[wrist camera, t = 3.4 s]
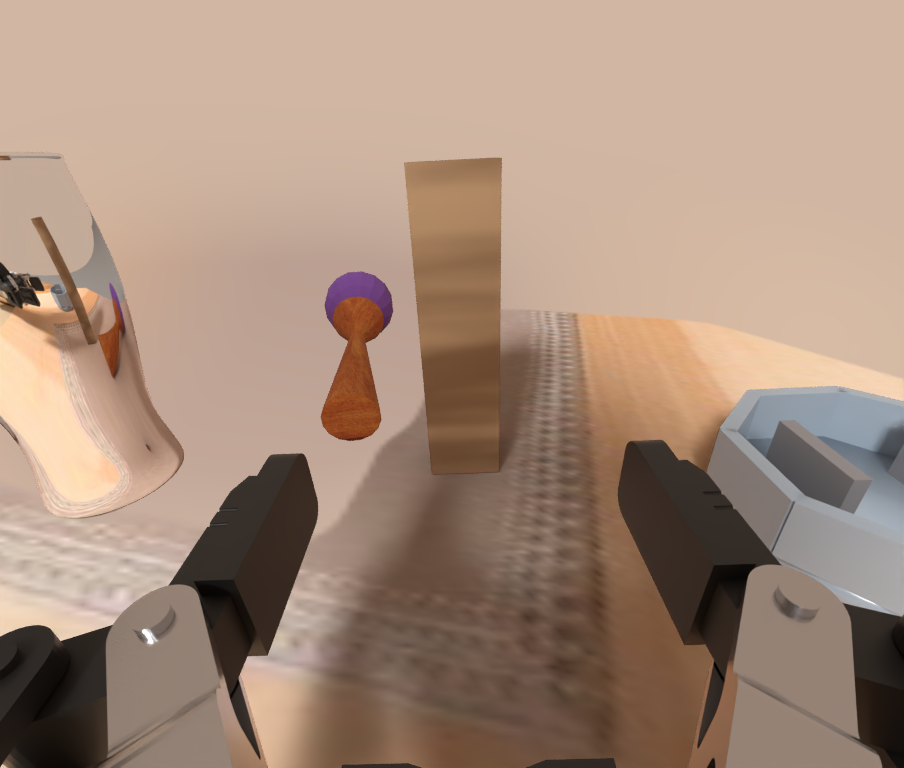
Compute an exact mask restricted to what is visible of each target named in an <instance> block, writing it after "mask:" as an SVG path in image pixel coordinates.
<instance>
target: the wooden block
mask: <svg viewBox="0 0 904 768" xmlns="http://www.w3.org/2000/svg"><path fill="white" fill-rule="evenodd" d="M501 161H502V158H480V159H462V160H444V161H443V160H442V161H424V162H408V163H404V165H405V176H406V188H407V199H408V211H409V222H410V233H411V245H412V256H413V266H414V279H415V290H416V301H417V313H418V324H419V334H420V346H421V358H422V369H423V380H424V392H425V403H426V414H427V425H428V437H429V448H430V459H431V471H432V474H458V473H484V472H499V408H500V288H501V287H500V286H501V285H500V284H501V170H502V169H501V168H502V166H501V165H502V162H501Z"/></svg>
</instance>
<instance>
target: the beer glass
mask: <svg viewBox="0 0 904 768" xmlns="http://www.w3.org/2000/svg"><path fill="white" fill-rule="evenodd" d="M0 424H1V425H2V426H3V427H4V428H5V429H7V431H8V432H9V433H10V435H11V436H12V437H13V438H14V440H15V441H16V442H17V444H19V446H20V448H21V449H22V451H23V453H24V455H25V456H26V458H27V460H28V462H29V464H30V467H31V469H32V471H33V474H34V477H35V480H36V484H37V486H38V490H39V493H40V496H41V499H42V501H43V503H44V505H45V507H46V509H47V510H48V511H50V512H51V513H52V514H54V515H56V516H60V517H66V518H82V517H90V516H95V515H99V514H103V513H107V512H110V511H113V510H116V509H119V508H122V507H124V506H127V505H129V504H131V503H133V502H136V501H138V500H140V499H142V498H143V497H145V496H147V495H149V494H150V493H152V492H154V491H155V490H157V489H158V488H160V487H161V486H162V485H164V484H165V483H166V482H167V481H168V480H169V479H170V478H172V476H173V475H174V474H175V473H176V472H177V471H178V469H179V468H180V466H181V464H182V462H183V459H184V452H183V449H182V447H181V445H180V443H179V442H178V441H177V439H176V438H175V436H174V435H173V434H172V432H171V431H170V430H169V428H168V427H167V426H166V424H165V423H164V422H163V420H162V419H161V417H160V416H159V414H158V413H157V410H156V409H155V407H154V405H153V403H152V401H151V398H150V395H149V392H148V389H147V387H146V384H145V379H144V375H143V370H142V366H141V362H140V356H139V351H138V346H137V341H136V337H135V332H134V327H133V323H132V318H131V313H130V310H129V306H128V303H127V299H126V295H125V291H124V288H123V285H122V282H121V279H120V277H119V274H118V271H117V269H116V266H115V263H114V261H113V258H112V256H111V254H110V251H109V249H108V247H107V245H106V243H105V240H104V238H103V236H102V234H101V232H100V229H99V227H98V225H97V223H96V221H95V220H94V218H93V216H92V214H91V212H90V210H89V208H88V206H87V204H86V202H85V200H84V198H83V196H82V194H81V193H80V191H79V189H78V187H77V185H76V183H75V181H74V179H73V177H72V175H71V173H70V171H69V170H68V168H67V165H66V163H65V161H64V158H63V155H61V154H58V153H44V152H0Z"/></svg>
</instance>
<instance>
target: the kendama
mask: <svg viewBox="0 0 904 768" xmlns="http://www.w3.org/2000/svg"><path fill="white" fill-rule="evenodd" d="M325 309H326V314H327V318H328V319H329V321H330V322H331V324H332V325H333V327H334V328H335V329H336V331H337V332H338V334H339V335H340V336H342V337H343V338H345V339H346V340H348V344H347V347H346V349H345V352H344V355H343V357H342V360H341V362H340V365H339V368H338V370H337V373H336V376H335V378H334V381H333V383H332V386H331V389H330V391H329V394H328V397H327V399H326V402H325V404H324V407H323V411H322V414H321V420H322V424H323V427H324V428H325V429H326V430H327V432H328V433H329V434H331V435H333V436H334V437H336V438H338V439H342V440H347V441H355V440H362V439H364V438H366V437H368V436H371V435H372V434H373V433H374V432H375V431H376V430H377V429H378V427H379V424H380V422H381V414H380V408H379V404H378V399H377V395H376V390H375V385H374V381H373V376H372V371H371V367H370V362H369V357H368V353H367V348H366V344H365V343H366V342H368V341H370V340H372V339H374V338H376V337H377V336H378V334H379V333H380V332H382V331H383V330H384V328H385V327H386V326H387V325H388V324H389V322H390V320H391V316H392V313H393V308H392V298H391V294H390V292H389V290H388V288H387V287H386V285H385V283H383V282H382V281H381V280H379V279H378V278H377V277H376V276H374V275H371V274H368V273H364V272H350V273H346V274H344V275H343V276H341V277H339V278H337V279H336V280H335V281H334V282H333V284H332V285H331V286H330V287H329V289H328V294H327V297H326V302H325Z"/></svg>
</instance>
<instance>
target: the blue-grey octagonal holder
mask: <svg viewBox="0 0 904 768" xmlns="http://www.w3.org/2000/svg"><path fill="white" fill-rule="evenodd" d="M706 473H707V474H708V475H709V476H710V478H711V479H712V480H713V481H714V483H715V484H716V485H717V486H718V487H719V489H720V490H721V493H722V495H725V496H726V497H727V499H728V500H729V501H730V502H731V503H732V505H733V509H736V510H737V511H738V512H739V513H740V515H741V516H742V517H743V518H744V520H745V521H746V522H747V523H748V524H749V526H750V527H751V528H752V529H753V531H754V532H755V533H756V534H757V536H758V537H759V538H760V539H761V540H762V542H763V543H764V544H765V545H766V547H767V548H768V549H769V550H770V552H771V553H772V554H773V555H774V557H775V558H776V559H777V560H778V561H779V563H780V564H781V565H782V566H785V567H789V568H792V569H795V570H798V571H800V572H802V573H805V574H807V575H809V576H810V577H812V578H814V579H816V580H817V581H819V582H820V583H822V584H823V585H824V586H826V587H827V588H828V589H829V590H831V591H832V592H833V593H834V594H835V595H836V596H837V597H838V599H839V600H840V601H841V602H842V603H846V604H849V605H854V606H858V607H862V608H866V609H871V610H875V611H879V612H884V613H888V614H892V615H896V616H901V617H902V616H903V614H904V401H900V400H896V399H891V398H887V397H883V396H879V395H874V394H870V393H866V392H862V391H857V390H853V389H849V388H845V387H840V386H839V387H838V386H825V387H803V388H780V389H757V390H747V391H746V393H745V394H744V395H743V397H742V398H741V399H740V401H739V402H738V403H737V405H736V406H735V408H734V409H733V410H732V412H731V413H730V414H729V416H728V417H727V418H726V420H725V421H724V422H723V424H722V425H721V427H720V428H719V431H718V435H717V438H716V441H715V445H714V448H713V451H712V455H711V458H710V461H709V464H708V468H707V471H706Z"/></svg>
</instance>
